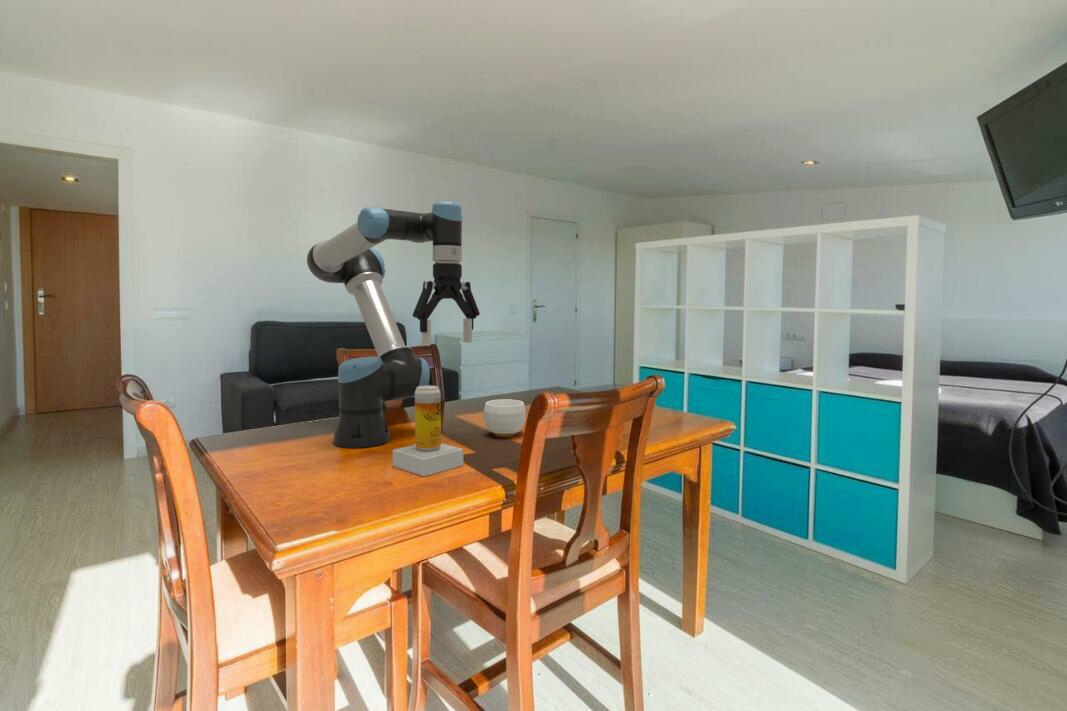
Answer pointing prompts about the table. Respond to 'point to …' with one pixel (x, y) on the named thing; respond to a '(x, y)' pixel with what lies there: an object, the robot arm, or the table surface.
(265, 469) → the table surface
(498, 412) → the cup
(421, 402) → the yellow labeled bottle
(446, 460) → the pedestal
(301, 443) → the table surface
